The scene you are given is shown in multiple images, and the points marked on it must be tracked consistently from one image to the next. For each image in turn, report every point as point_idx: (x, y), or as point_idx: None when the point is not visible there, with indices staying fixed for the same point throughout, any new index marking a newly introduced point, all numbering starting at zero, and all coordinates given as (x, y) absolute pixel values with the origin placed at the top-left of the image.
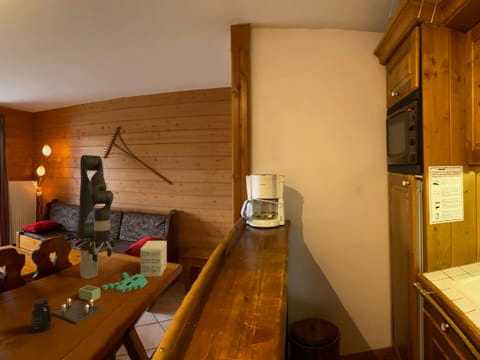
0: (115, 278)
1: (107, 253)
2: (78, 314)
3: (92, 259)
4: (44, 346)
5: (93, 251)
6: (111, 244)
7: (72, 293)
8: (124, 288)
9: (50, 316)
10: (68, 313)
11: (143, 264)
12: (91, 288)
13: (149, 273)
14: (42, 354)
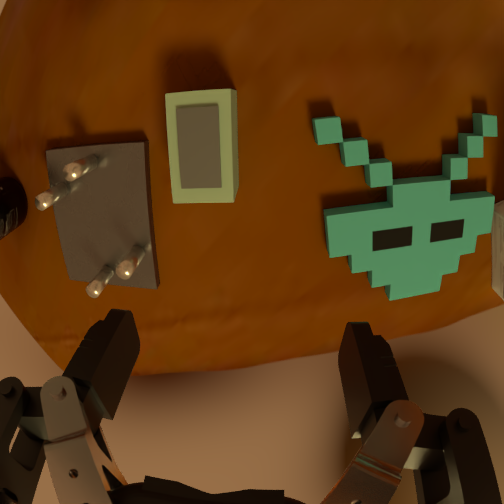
0: (446, 92)
1: (355, 351)
2: (87, 251)
3: (88, 332)
4: (8, 281)
5: (40, 455)
6: (461, 453)
7: (201, 15)
8: (341, 255)
9: (3, 235)
10: (69, 211)
11: None
12: (199, 164)
13: (499, 253)
14: (6, 299)
